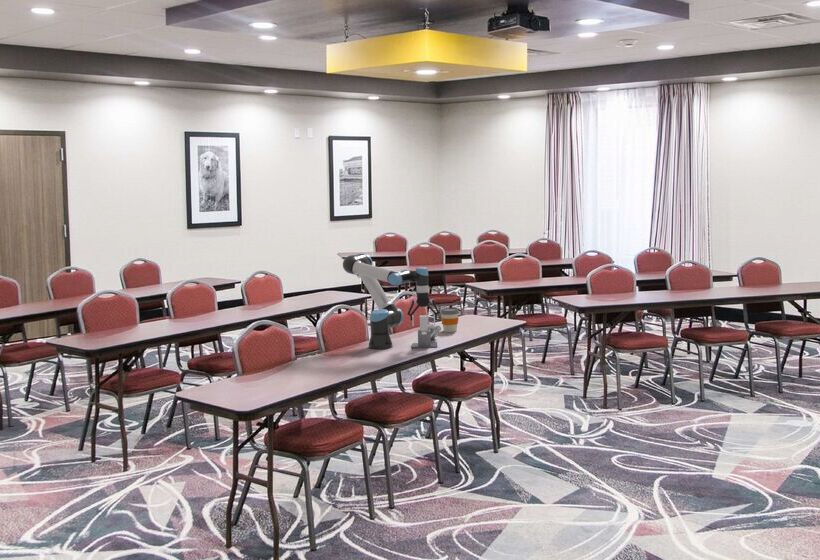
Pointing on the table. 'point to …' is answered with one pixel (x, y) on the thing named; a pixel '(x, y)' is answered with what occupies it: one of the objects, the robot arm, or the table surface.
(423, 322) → the column
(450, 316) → the reusable coffee cup
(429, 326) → the valve
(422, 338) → the stand base
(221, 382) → the table surface
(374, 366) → the table surface
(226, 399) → the table surface
